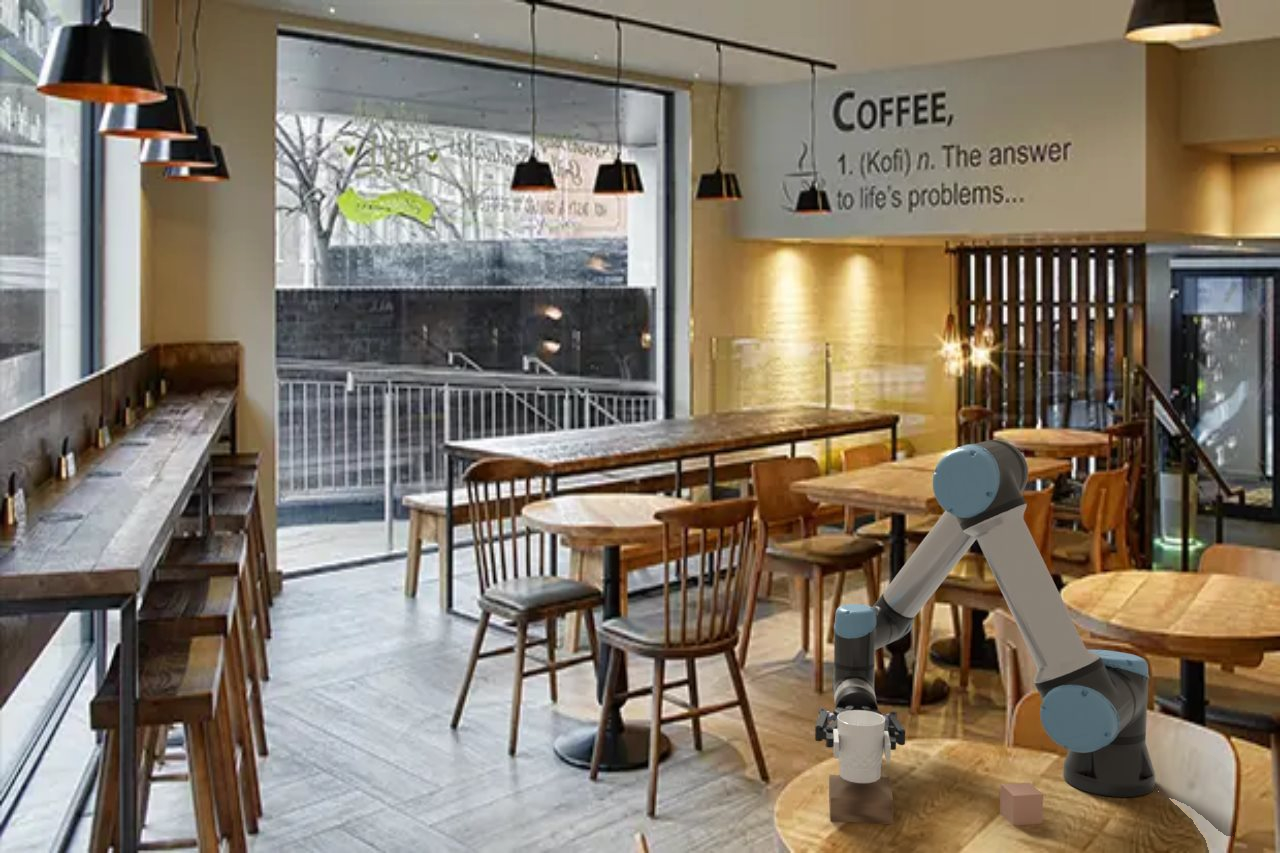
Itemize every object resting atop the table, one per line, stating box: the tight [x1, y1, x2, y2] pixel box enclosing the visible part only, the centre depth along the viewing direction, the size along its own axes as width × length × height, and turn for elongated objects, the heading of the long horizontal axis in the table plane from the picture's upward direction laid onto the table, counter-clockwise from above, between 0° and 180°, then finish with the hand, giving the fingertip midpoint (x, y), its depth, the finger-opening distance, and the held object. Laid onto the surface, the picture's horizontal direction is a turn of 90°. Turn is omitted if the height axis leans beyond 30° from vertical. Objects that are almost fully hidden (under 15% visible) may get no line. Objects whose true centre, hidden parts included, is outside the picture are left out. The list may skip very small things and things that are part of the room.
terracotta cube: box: [999, 782, 1044, 826], centre depth 208 cm, size 5×5×5 cm
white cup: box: [837, 710, 885, 783], centre depth 211 cm, size 8×8×10 cm
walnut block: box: [828, 774, 894, 825], centre depth 212 cm, size 10×10×4 cm
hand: (862, 751), depth 206 cm, fingers closed on white cup, 7 cm apart
